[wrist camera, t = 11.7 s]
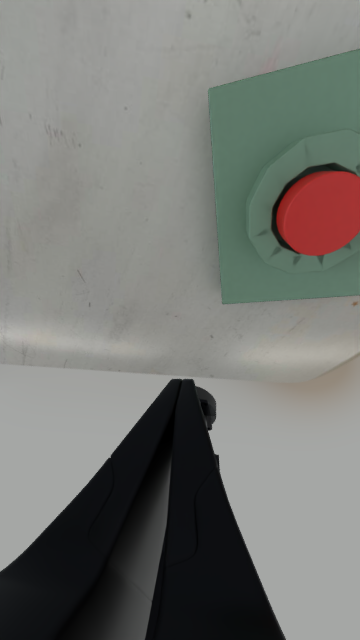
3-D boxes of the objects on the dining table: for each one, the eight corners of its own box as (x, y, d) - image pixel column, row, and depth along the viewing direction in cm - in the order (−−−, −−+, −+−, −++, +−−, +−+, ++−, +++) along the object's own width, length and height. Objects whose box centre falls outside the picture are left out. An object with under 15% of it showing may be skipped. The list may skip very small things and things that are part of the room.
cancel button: (343, 242, 12) (359, 252, 11) (274, 250, 13) (280, 260, 12) (360, 164, 11) (382, 163, 9) (278, 178, 11) (287, 179, 10)
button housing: (357, 281, 17) (390, 308, 14) (221, 291, 19) (222, 317, 16) (422, 46, 11) (513, -10, 7) (209, 100, 13) (205, 75, 9)
